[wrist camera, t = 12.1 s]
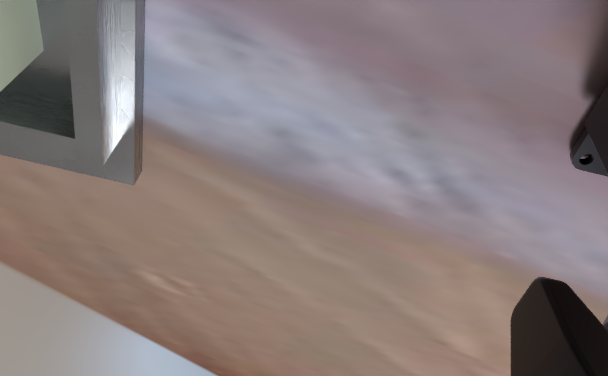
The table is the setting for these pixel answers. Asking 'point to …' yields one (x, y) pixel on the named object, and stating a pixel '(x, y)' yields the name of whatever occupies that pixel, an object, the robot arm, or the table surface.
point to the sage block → (18, 37)
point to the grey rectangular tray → (81, 91)
